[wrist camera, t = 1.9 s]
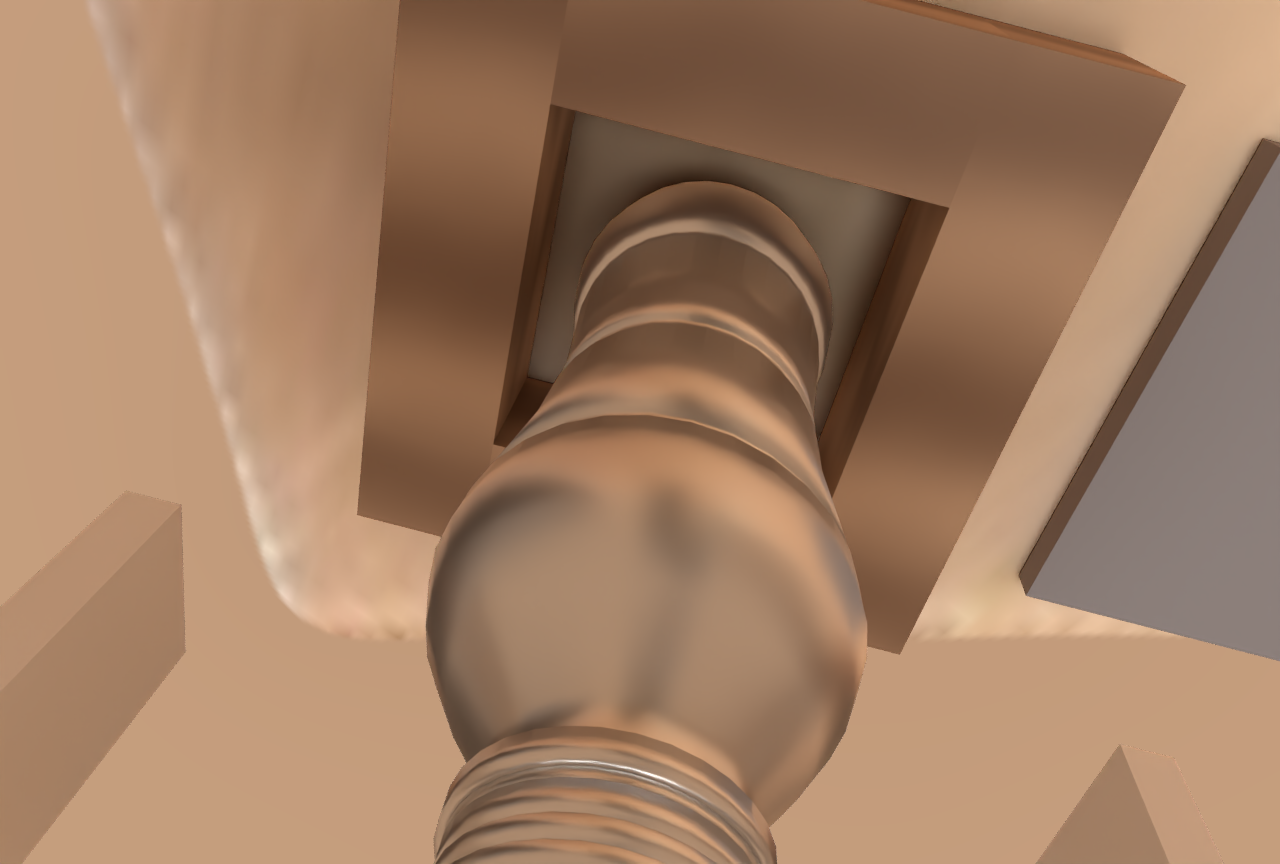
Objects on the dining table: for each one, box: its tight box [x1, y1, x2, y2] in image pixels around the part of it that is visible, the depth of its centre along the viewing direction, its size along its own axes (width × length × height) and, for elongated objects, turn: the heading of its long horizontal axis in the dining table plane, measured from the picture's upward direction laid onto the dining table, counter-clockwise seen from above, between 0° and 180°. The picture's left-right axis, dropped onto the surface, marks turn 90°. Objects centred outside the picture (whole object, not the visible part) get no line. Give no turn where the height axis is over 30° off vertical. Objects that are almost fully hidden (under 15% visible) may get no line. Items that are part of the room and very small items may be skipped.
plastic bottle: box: [426, 181, 867, 864], centre depth 18 cm, size 6×7×20 cm
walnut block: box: [357, 0, 1186, 654], centre depth 25 cm, size 16×16×4 cm
